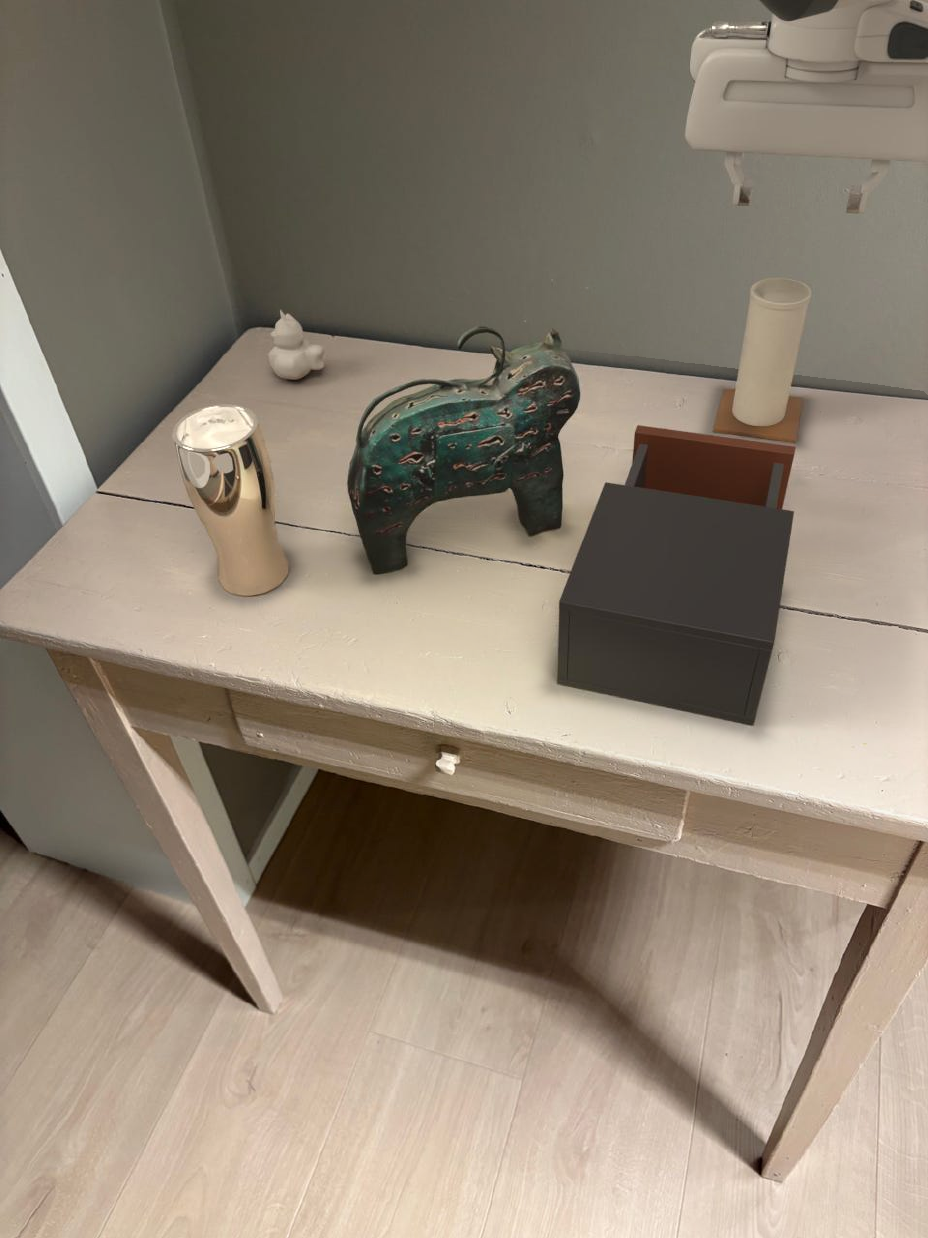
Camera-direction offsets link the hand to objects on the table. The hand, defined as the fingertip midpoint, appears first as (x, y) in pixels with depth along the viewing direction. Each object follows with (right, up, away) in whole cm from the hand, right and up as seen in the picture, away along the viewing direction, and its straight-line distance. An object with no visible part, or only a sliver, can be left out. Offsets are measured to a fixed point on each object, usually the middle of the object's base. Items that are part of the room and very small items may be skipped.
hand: (797, 207), depth 83 cm
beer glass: (-47, -32, +1) cm, 57 cm away
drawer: (-8, -28, +1) cm, 29 cm away
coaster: (+1, -15, +15) cm, 21 cm away
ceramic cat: (-28, -29, +3) cm, 40 cm away
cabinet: (-13, -37, -7) cm, 40 cm away
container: (+1, -15, +15) cm, 21 cm away
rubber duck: (-47, -8, +26) cm, 55 cm away
